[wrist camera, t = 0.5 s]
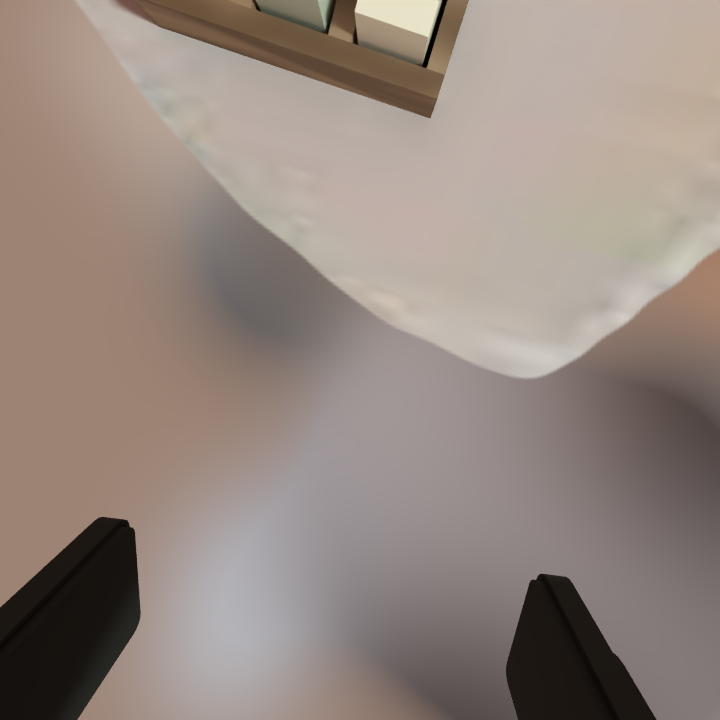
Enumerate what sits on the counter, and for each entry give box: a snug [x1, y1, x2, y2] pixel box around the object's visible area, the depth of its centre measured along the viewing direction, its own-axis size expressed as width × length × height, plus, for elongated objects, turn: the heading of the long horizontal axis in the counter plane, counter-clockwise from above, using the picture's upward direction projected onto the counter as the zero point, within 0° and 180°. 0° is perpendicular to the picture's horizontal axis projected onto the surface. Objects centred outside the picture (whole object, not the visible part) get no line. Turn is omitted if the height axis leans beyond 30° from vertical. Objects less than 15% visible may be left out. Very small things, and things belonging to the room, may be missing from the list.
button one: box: [355, 0, 443, 67], centre depth 26 cm, size 5×5×5 cm
